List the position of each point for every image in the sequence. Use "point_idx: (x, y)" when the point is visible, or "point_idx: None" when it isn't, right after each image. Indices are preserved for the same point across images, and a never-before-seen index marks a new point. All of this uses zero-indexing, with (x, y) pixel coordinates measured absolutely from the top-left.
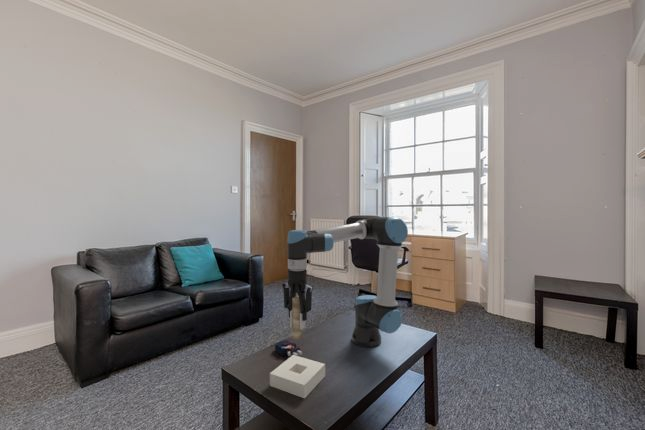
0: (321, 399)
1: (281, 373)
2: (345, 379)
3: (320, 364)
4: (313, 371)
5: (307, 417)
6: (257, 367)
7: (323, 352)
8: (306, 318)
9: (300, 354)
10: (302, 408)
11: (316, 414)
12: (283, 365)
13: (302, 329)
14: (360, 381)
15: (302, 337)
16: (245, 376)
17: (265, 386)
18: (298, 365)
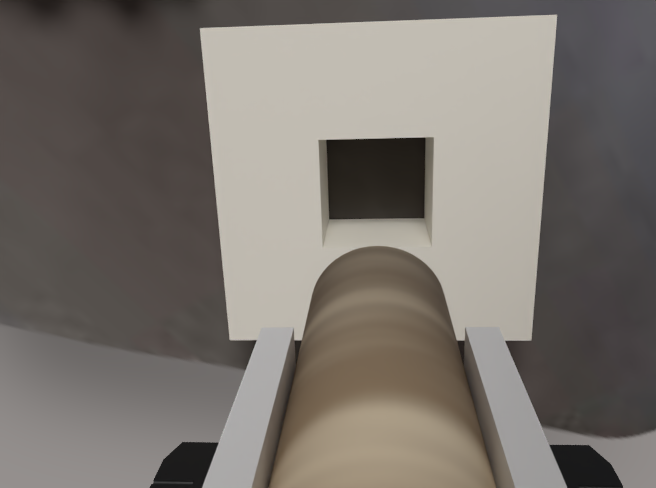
0: (613, 259)
1: (303, 304)
2: None
3: (518, 43)
4: (511, 169)
5: (599, 409)
6: (19, 184)
7: None
8: (613, 483)
9: None
10: (541, 369)
11: (636, 372)
12: (245, 216)
13: (454, 337)
14: None
15: (442, 289)
16: (44, 299)
17: (227, 318)
18: (340, 136)
